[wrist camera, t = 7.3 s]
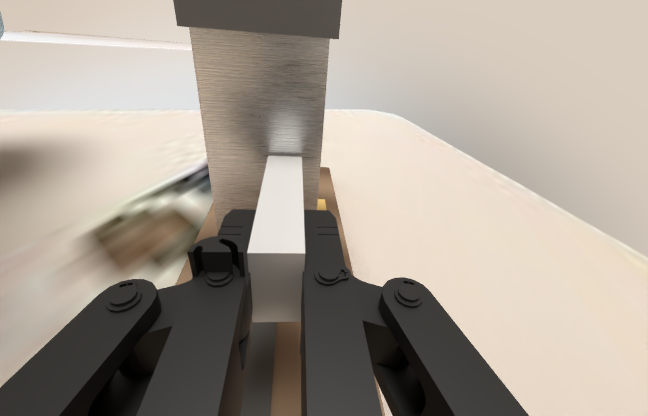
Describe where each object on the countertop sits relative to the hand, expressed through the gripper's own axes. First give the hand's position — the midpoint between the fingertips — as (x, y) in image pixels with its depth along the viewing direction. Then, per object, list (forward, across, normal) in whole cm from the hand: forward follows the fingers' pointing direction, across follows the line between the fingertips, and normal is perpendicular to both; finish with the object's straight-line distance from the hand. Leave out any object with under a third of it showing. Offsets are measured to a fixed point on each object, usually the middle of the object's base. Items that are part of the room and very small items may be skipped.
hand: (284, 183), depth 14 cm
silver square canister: (+3, -1, -6) cm, 7 cm away
